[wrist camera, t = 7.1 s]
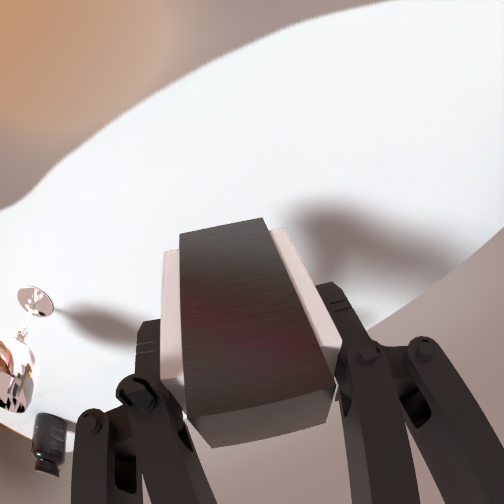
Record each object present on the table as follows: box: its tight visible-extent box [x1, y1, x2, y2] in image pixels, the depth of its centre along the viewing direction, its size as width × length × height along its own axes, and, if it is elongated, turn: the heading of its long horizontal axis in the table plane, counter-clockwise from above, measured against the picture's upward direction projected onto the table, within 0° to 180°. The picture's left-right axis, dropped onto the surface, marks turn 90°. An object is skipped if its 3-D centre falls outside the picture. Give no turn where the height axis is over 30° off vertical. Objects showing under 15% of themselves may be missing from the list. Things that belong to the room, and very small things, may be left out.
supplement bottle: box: [31, 413, 67, 478], centre depth 36 cm, size 7×7×12 cm
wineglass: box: [0, 286, 53, 413], centre depth 20 cm, size 6×6×12 cm
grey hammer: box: [179, 218, 336, 448], centre depth 15 cm, size 16×4×9 cm, turn 7°
